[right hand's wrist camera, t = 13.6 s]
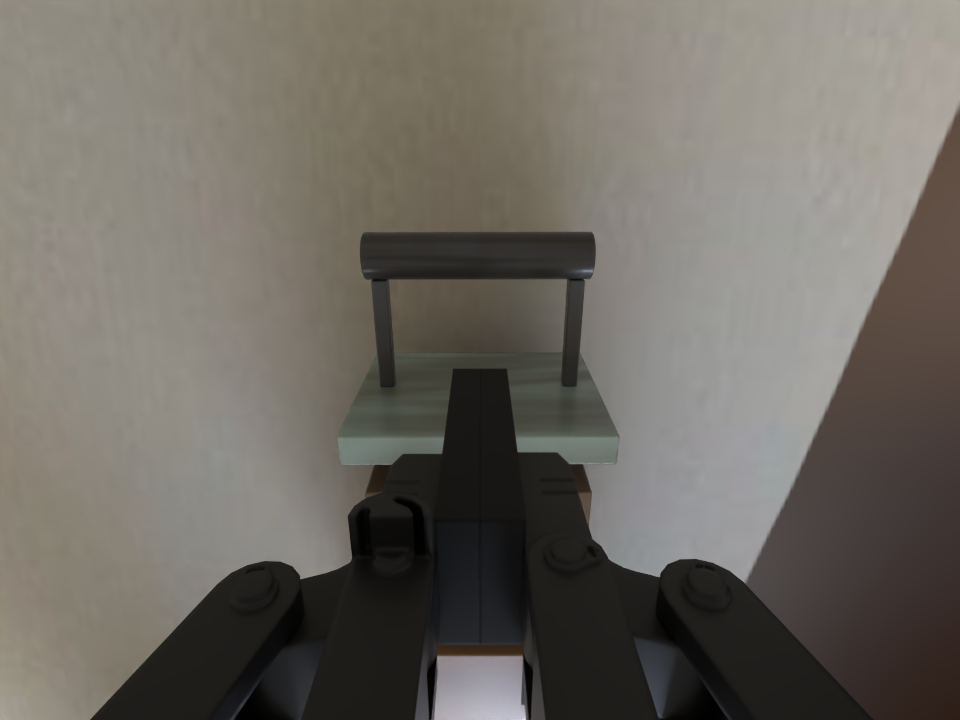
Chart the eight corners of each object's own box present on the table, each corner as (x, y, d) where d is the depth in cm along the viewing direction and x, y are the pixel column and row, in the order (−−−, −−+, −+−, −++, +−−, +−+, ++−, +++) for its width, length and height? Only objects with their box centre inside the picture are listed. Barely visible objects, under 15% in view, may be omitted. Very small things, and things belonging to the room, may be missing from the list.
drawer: (365, 219, 23) (312, 255, 16) (590, 218, 23) (641, 254, 16) (397, 595, 31) (373, 730, 24) (561, 595, 31) (586, 730, 24)
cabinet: (382, 502, 30) (341, 655, 21) (576, 501, 30) (616, 654, 21) (400, 700, 36) (374, 881, 28) (559, 700, 36) (585, 881, 28)
